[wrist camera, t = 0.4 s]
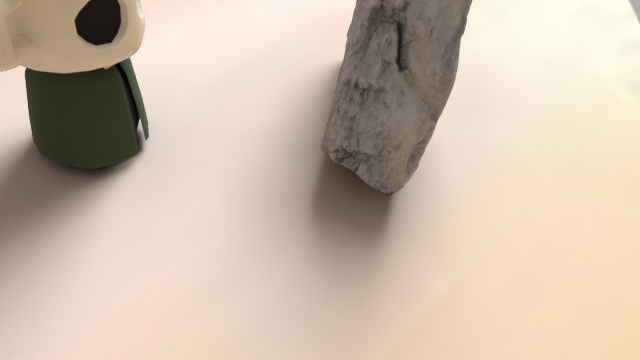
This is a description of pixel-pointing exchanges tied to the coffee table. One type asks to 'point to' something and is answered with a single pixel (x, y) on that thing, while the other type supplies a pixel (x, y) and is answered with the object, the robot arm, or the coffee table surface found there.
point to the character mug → (78, 75)
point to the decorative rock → (393, 86)
